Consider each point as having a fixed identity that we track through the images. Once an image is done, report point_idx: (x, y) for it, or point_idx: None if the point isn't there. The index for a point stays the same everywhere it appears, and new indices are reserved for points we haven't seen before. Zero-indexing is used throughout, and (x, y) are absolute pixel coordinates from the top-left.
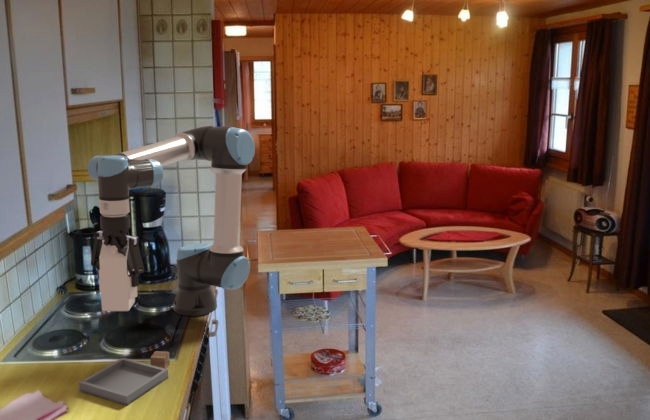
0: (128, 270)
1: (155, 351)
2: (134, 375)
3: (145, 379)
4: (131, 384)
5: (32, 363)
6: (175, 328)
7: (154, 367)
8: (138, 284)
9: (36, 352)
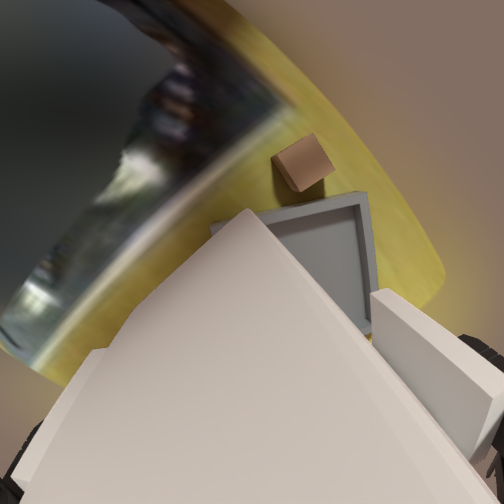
0: (502, 496)
1: (280, 157)
2: (292, 244)
3: (330, 238)
4: (323, 275)
5: (59, 347)
6: (134, 4)
7: (332, 207)
8: (475, 339)
9: (19, 315)
